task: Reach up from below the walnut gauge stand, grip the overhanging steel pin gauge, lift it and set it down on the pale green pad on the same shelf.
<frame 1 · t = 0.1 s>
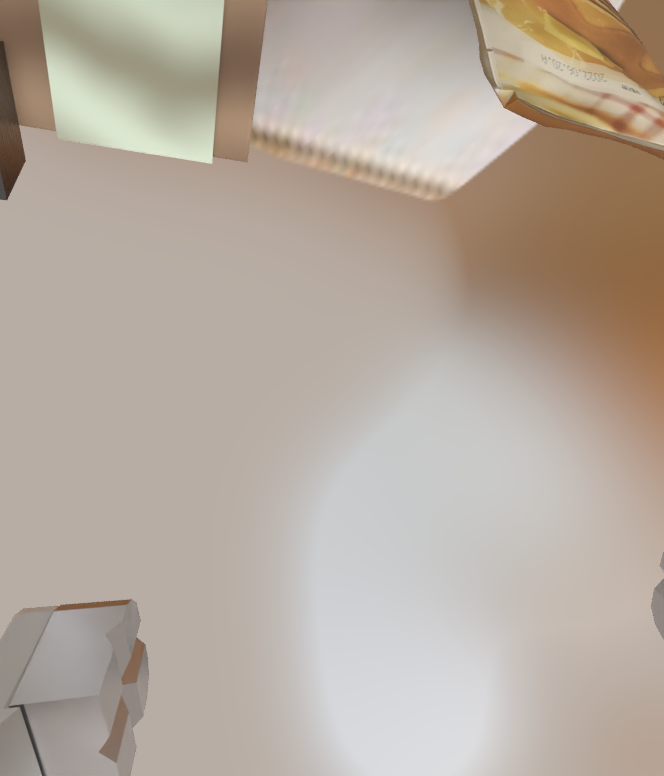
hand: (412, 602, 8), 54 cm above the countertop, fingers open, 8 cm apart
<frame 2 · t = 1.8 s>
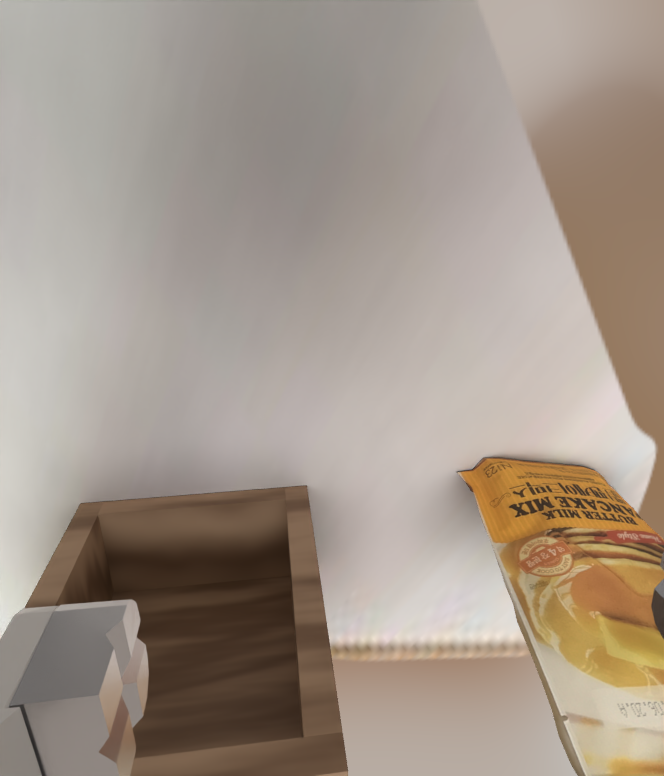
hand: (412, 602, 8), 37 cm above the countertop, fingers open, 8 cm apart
gauge stand: (201, 540, 51), on the countertop
pancake mix bag: (531, 487, 54), on the countertop
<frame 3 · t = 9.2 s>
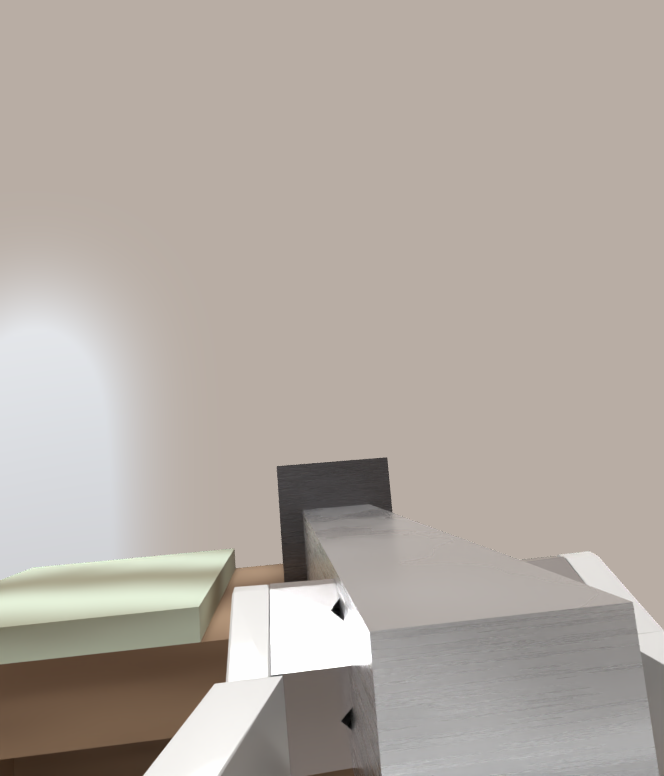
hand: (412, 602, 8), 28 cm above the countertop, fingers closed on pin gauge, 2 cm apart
pin gauge: (362, 613, 14), point 26 cm above the countertop, touching gauge stand, gripper
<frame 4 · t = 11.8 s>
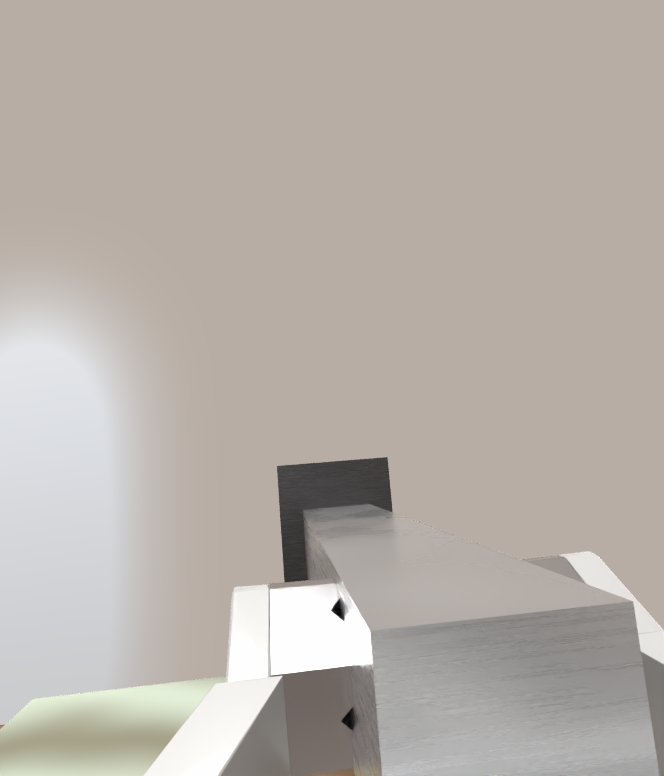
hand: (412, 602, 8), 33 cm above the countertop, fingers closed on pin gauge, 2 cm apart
pin gauge: (362, 612, 14), point 31 cm above the countertop, touching gripper
when the fingers open (30 cm above the countertop, at t = 14.7 s): pin gauge drops 1 cm, resting on gauge stand.
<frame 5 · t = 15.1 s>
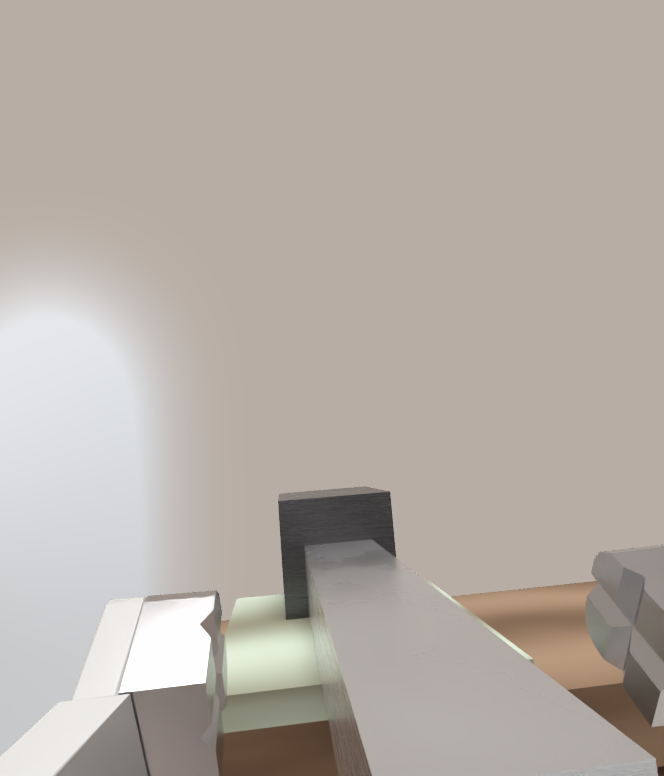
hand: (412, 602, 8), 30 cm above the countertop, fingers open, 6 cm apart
pin gauge: (365, 664, 14), point 27 cm above the countertop, touching gauge stand
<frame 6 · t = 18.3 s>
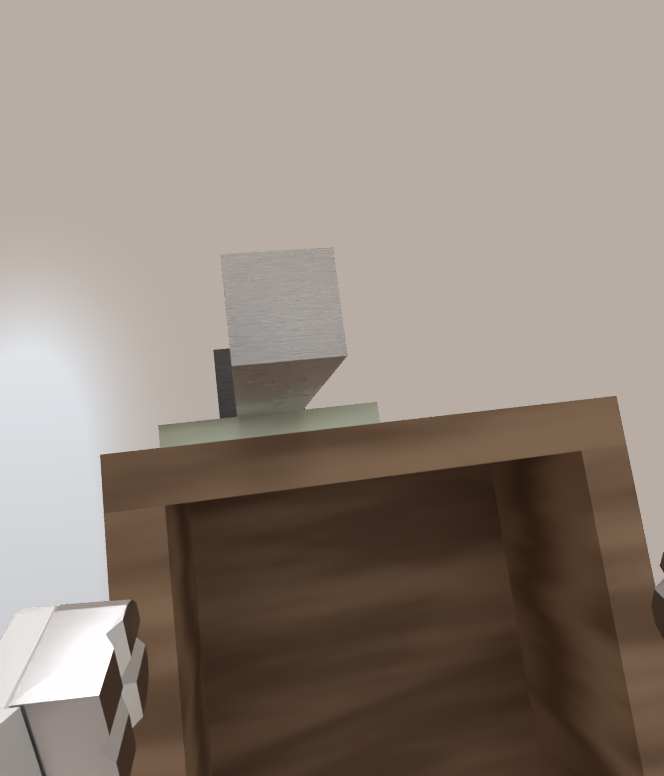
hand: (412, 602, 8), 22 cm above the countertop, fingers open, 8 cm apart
pin gauge: (269, 416, 21), point 27 cm above the countertop, touching gauge stand
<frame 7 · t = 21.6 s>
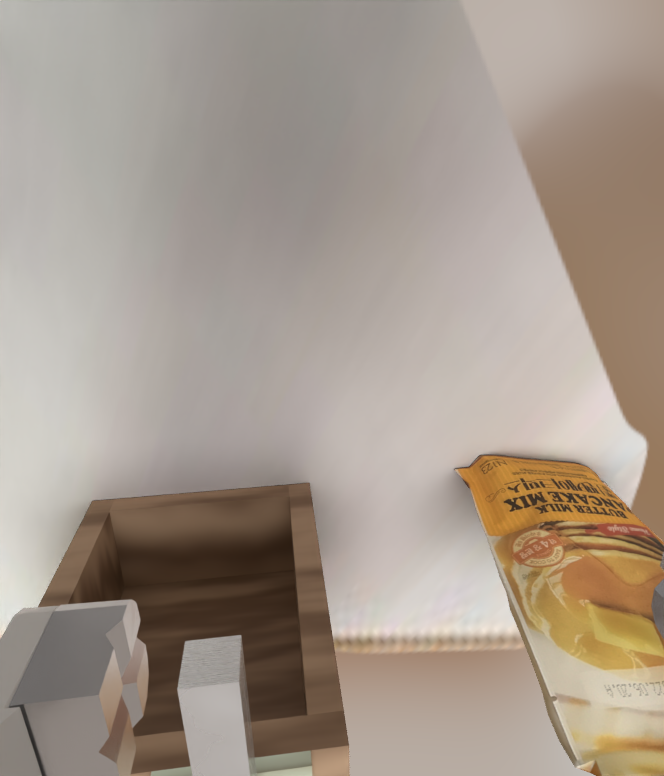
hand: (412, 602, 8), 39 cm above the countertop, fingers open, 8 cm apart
gauge stand: (208, 536, 53), on the countertop
pancake mix bag: (527, 483, 56), on the countertop
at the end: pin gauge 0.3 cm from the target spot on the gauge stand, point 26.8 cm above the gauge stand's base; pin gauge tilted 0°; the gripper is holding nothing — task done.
